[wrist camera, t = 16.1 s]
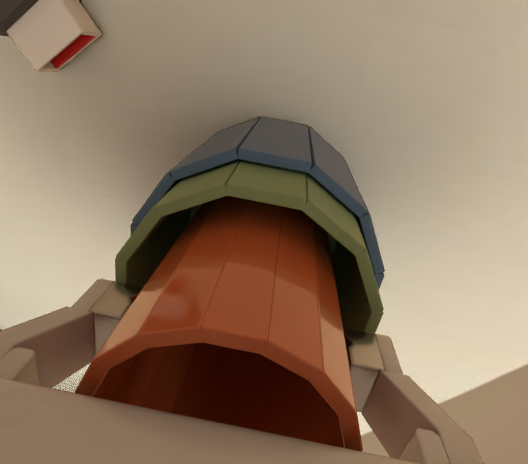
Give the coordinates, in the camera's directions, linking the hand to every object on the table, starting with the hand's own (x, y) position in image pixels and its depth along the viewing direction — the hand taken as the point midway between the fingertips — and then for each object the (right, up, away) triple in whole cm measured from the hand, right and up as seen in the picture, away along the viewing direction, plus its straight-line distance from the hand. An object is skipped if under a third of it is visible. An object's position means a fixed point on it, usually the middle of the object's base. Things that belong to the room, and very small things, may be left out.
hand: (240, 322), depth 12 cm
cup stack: (+1, +5, +10) cm, 11 cm away
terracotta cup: (+1, +2, +5) cm, 5 cm away
